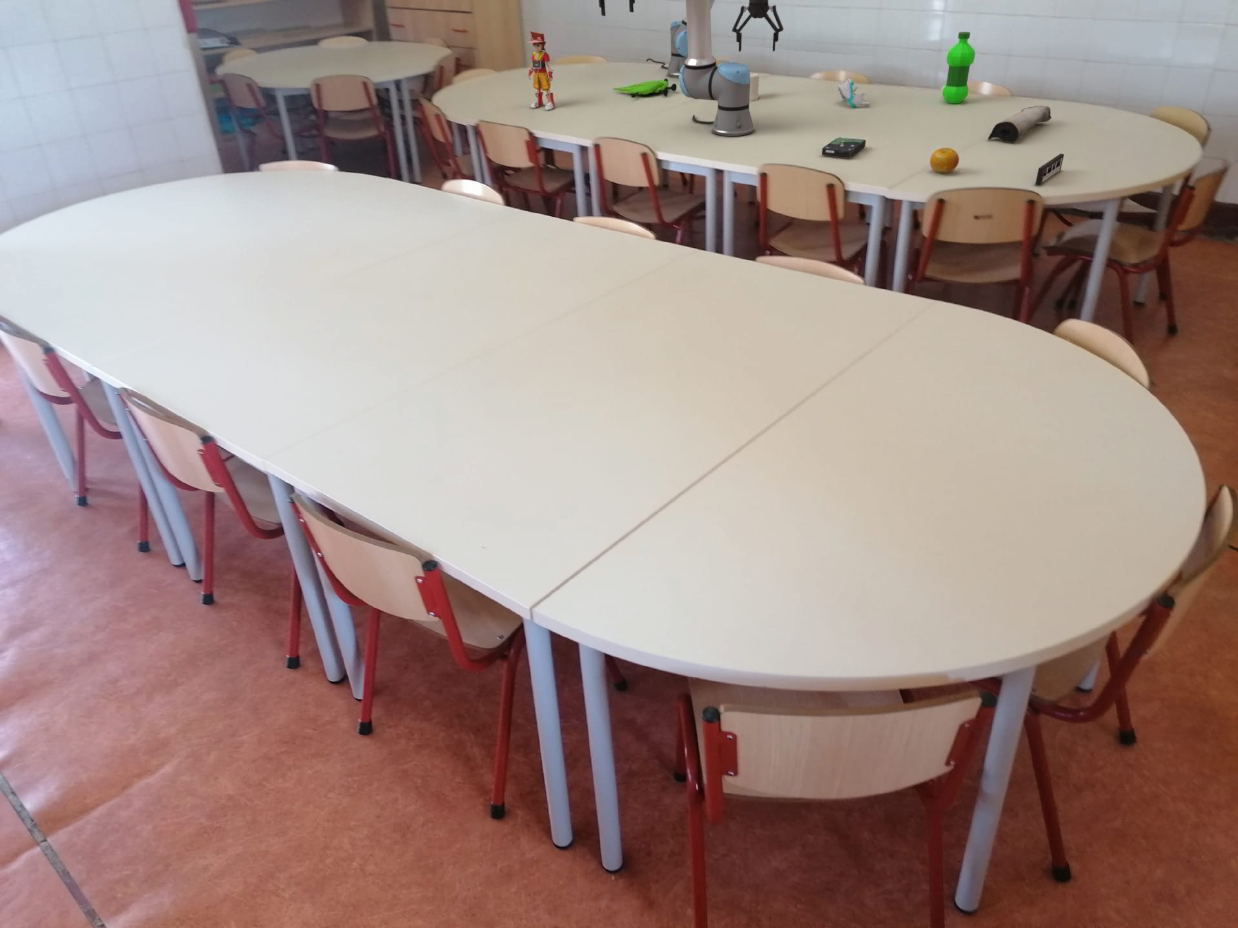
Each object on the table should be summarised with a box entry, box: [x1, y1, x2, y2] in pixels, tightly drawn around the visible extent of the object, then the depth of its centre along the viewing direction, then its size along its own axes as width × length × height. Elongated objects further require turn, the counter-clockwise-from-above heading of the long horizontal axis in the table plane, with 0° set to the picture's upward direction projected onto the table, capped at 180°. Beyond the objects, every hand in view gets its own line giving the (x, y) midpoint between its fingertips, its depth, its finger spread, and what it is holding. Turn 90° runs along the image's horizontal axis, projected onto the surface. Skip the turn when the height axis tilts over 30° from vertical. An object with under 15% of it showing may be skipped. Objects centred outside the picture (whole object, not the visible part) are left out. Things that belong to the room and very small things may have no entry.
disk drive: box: [821, 136, 867, 159], centre depth 307 cm, size 10×3×15 cm
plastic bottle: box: [942, 31, 976, 104], centre depth 348 cm, size 10×10×25 cm
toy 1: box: [527, 31, 556, 111], centre depth 374 cm, size 12×9×30 cm
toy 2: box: [612, 78, 677, 99], centre depth 396 cm, size 28×5×30 cm
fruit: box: [929, 147, 960, 174], centre depth 283 cm, size 8×8×8 cm
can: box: [749, 72, 760, 102], centre depth 375 cm, size 7×7×9 cm
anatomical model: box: [837, 78, 871, 108], centre depth 358 cm, size 15×10×10 cm
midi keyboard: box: [1035, 153, 1065, 186], centre depth 273 cm, size 18×1×5 cm, turn 138°
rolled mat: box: [987, 105, 1052, 144], centre depth 315 cm, size 30×9×10 cm
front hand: (756, 51), depth 362 cm, fingers open, 13 cm apart
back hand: (617, 14), depth 394 cm, fingers open, 13 cm apart
